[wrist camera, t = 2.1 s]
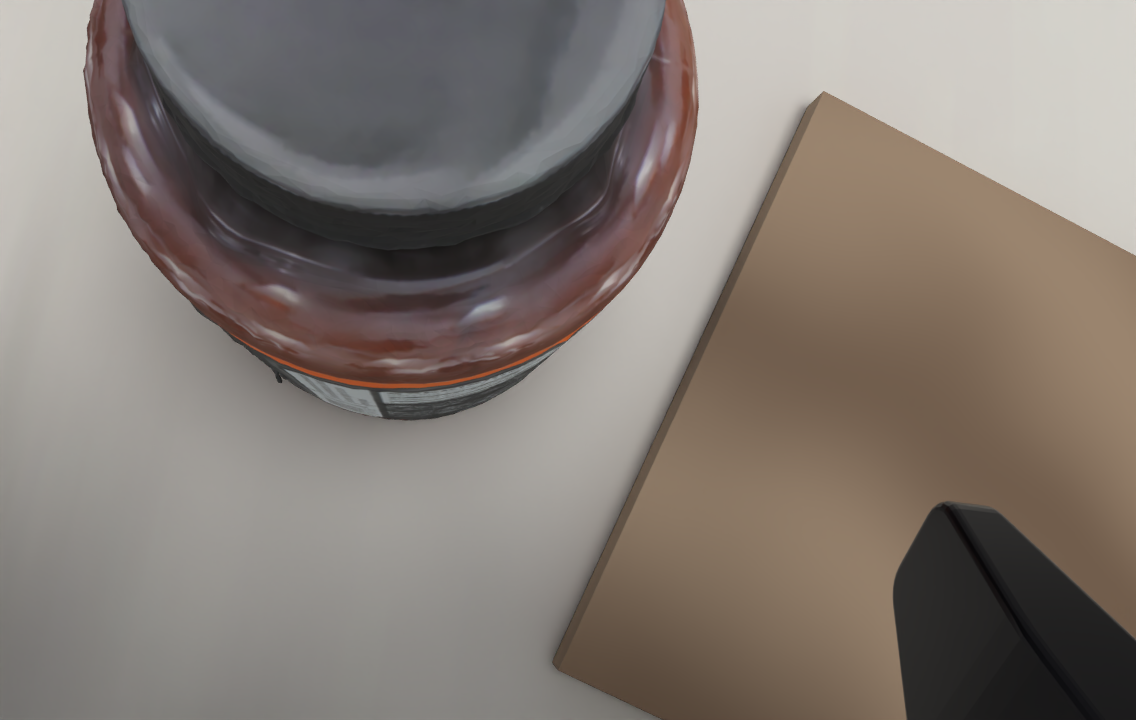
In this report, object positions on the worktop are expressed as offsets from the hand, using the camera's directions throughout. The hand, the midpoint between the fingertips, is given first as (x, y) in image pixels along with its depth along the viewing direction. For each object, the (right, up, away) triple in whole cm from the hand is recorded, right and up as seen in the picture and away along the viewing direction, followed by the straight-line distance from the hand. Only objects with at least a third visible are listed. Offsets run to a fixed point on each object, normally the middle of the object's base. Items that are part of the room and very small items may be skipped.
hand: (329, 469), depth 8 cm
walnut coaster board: (+9, -2, +12) cm, 15 cm away
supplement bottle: (-1, +3, +11) cm, 12 cm away
